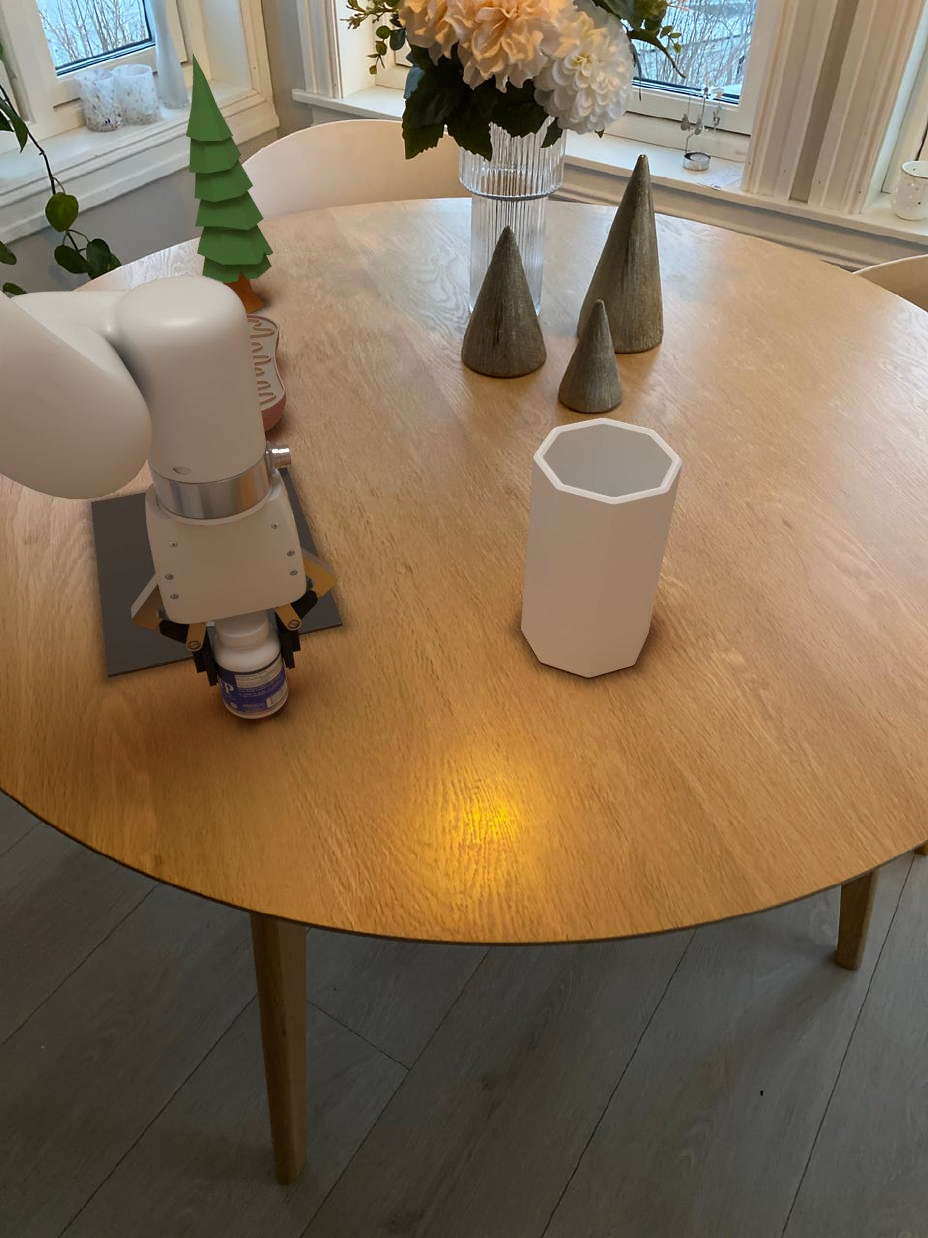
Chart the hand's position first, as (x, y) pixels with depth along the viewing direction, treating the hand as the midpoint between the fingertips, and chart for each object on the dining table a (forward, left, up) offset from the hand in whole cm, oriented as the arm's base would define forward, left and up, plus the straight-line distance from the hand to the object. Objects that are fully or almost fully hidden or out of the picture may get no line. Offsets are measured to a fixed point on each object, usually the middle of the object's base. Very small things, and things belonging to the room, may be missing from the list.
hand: (249, 663), depth 75 cm
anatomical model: (+7, +47, -5) cm, 48 cm away
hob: (-1, +19, -4) cm, 20 cm away
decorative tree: (+11, +71, -5) cm, 72 cm away
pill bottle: (0, 0, -4) cm, 4 cm away
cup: (+29, -1, -5) cm, 29 cm away
